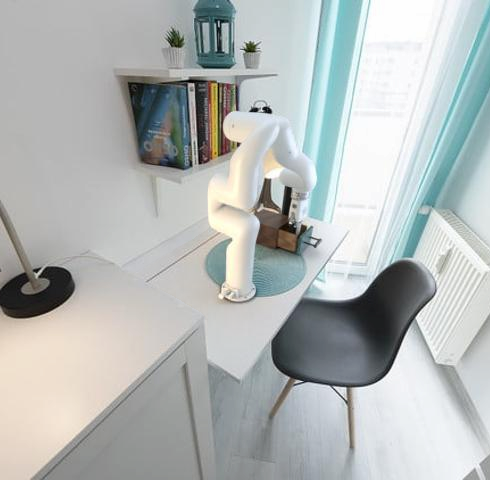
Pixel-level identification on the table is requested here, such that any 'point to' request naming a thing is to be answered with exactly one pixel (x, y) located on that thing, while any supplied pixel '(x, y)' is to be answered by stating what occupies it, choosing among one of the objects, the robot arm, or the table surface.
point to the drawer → (296, 238)
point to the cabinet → (269, 227)
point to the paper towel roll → (298, 227)
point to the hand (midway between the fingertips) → (294, 231)
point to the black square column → (286, 201)
